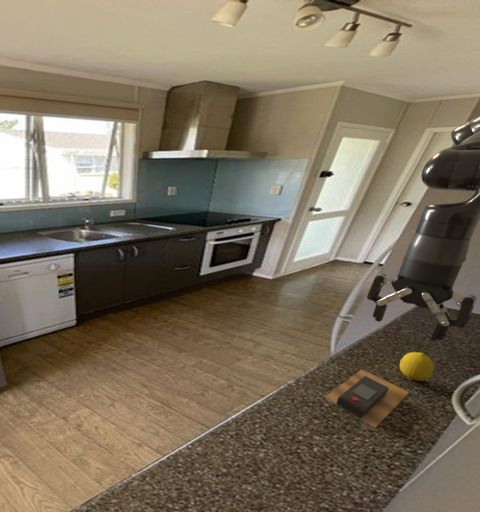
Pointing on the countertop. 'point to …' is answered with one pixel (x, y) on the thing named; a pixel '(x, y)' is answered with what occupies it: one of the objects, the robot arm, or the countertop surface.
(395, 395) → the placemat
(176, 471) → the countertop surface
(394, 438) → the countertop surface
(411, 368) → the lemon
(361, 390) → the remote
